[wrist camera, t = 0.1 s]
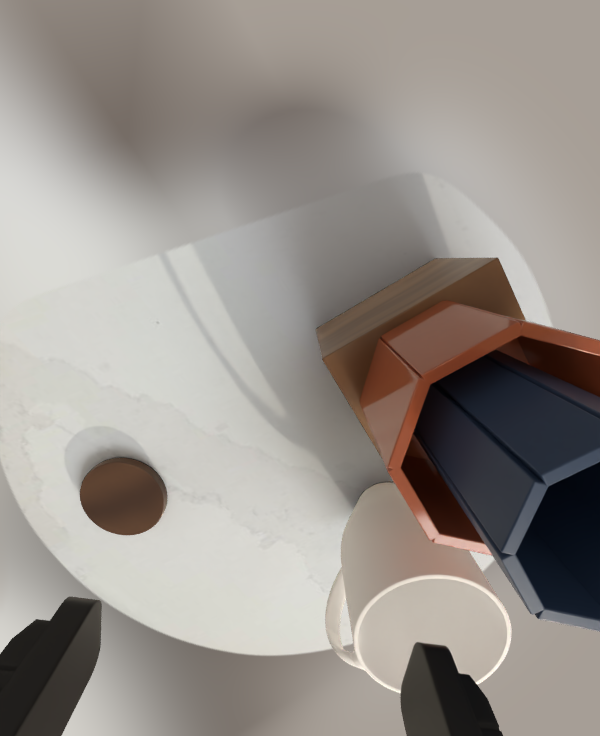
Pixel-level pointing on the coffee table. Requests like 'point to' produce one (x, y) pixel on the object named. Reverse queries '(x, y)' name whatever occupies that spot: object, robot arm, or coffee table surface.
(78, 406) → the coffee table surface
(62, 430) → the coffee table surface
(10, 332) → the coffee table surface
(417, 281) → the riser
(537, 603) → the slate cup
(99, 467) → the coaster
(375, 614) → the mug
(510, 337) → the terracotta cup
